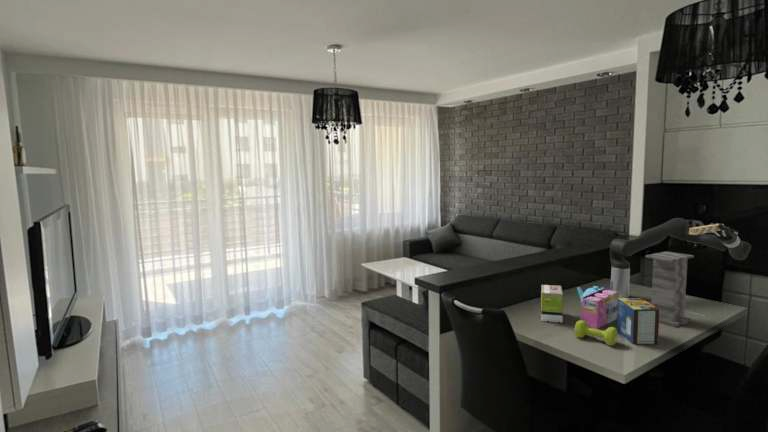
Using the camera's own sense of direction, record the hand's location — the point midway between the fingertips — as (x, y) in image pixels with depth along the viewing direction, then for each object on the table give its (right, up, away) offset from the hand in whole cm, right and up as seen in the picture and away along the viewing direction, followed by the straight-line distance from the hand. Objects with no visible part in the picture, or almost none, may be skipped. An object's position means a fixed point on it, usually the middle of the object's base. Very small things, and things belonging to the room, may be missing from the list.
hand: (715, 224), depth 219 cm
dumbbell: (-79, -50, -35) cm, 100 cm away
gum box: (-66, -47, -13) cm, 82 cm away
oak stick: (-7, -4, -3) cm, 9 cm away
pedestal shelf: (-34, -46, -13) cm, 59 cm away
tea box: (-87, -47, -6) cm, 99 cm away
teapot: (-57, -44, +9) cm, 73 cm away
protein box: (-61, -49, -33) cm, 85 cm away
